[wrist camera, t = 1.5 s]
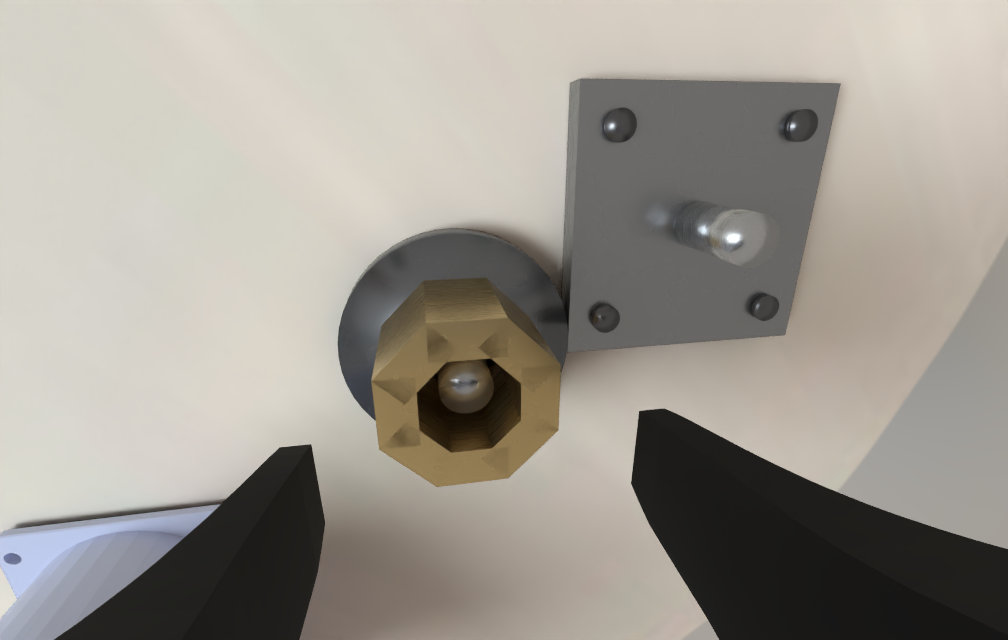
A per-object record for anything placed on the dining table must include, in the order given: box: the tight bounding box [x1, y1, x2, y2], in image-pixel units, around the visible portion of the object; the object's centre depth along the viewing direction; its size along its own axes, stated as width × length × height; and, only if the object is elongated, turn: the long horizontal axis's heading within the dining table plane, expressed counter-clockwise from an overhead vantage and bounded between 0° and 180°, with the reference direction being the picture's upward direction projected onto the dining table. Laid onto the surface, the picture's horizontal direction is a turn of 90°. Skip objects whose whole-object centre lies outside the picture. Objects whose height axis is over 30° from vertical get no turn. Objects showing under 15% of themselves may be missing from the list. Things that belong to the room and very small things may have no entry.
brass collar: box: [371, 277, 561, 487], centre depth 15 cm, size 5×5×4 cm
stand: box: [338, 229, 568, 420], centre depth 15 cm, size 8×8×4 cm
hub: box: [561, 79, 840, 352], centre depth 15 cm, size 9×9×4 cm
